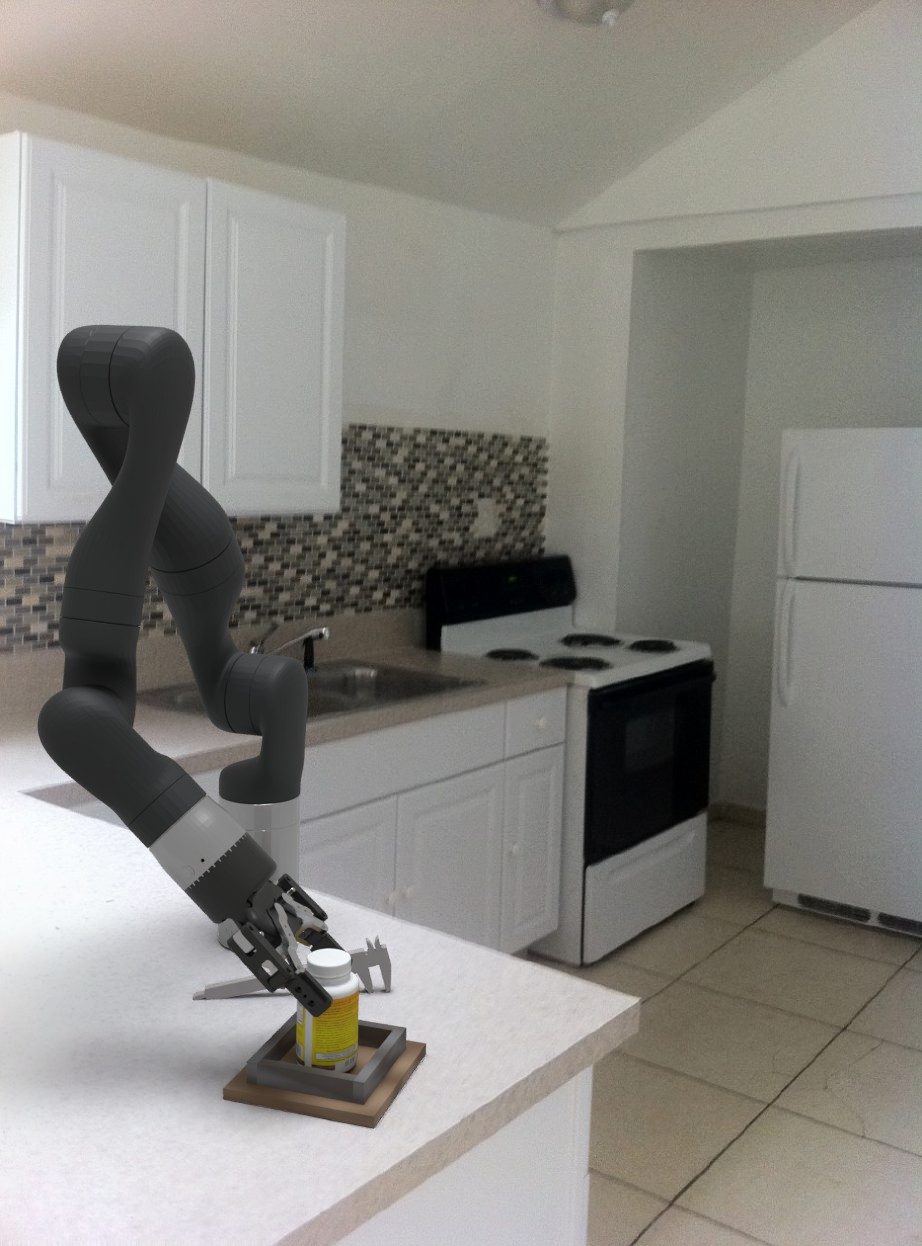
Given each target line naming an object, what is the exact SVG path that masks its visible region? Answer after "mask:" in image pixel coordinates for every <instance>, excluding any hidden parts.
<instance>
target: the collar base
mask: <svg viewBox="0 0 922 1246" xmlns="http://www.w3.org/2000/svg"><path fill="white" fill-rule="evenodd" d="M296 1033H297V1010H296V1011H295V1012H294V1013H293V1014H292V1015H291V1016H290V1017H289V1018H288V1019H287V1020H286V1021H285V1022H284V1023H283V1024H282V1025H281V1026H280V1027H279V1028H278V1029H277V1030H276V1031H275V1032H274V1033H273V1034H272V1035H271V1036H270V1037H269V1038H268V1039H267V1040H266V1041H265V1042H264V1043H263V1044H262V1046H261V1047H259V1049H258V1050H257V1051H256V1052H254V1053H253V1054H252V1055H251V1056H250V1057H249V1058H248V1059H247V1061H246V1064H245V1065H244V1066H243V1068H241V1069H240V1070H239V1071H238V1072H237V1074H235V1075H234V1076H233V1077H232V1078H231V1080H229V1081H228V1083H226V1085H224V1086H223V1088H222V1099H223V1100H227V1101H232V1102H237V1103H242V1104H247V1105H253V1106H257V1107H264V1108H268V1109H273V1110H278V1111H284V1112H289V1113H294V1114H299V1115H306V1116H310V1117H316V1118H320V1119H326V1120H331V1121H335V1122H341V1123H347V1124H352V1125H357V1126H363V1127H368V1128H372V1129H373V1128H375V1127H376V1125H377V1124H378V1123H379V1121H380V1119H382V1117H383V1116H384V1114H385V1113H386V1111H388V1108H389V1107H390V1105H391V1104H392V1103H393V1101H394V1100H395V1098H396V1097H397V1095H398V1094H399V1093H400V1091H401V1090H402V1088H403V1087H404V1085H406V1083H407V1082H408V1080H409V1078H410V1077H411V1075H412V1074H413V1072H414V1071H415V1070H416V1069H417V1067H418V1066H419V1065H420V1062H421V1061H422V1060H423V1058H424V1057H425V1055H426V1054H427V1043H425V1042H421V1041H414V1040H409V1039H408V1040H407V1027H405V1026H399V1025H394V1024H393V1025H392V1024H387V1023H382V1022H374V1021H368V1020H362V1019H358V1054H357V1061H356V1063H355V1065H354V1066H353V1067H352V1068H351V1069H350V1070H349V1071H347V1072H345V1073H341V1072H336V1071H330V1070H325V1069H319V1068H313V1067H308V1066H302V1065H298V1064H297V1060H296Z"/></svg>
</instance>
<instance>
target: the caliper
mask: <svg viewBox="0 0 922 1246" xmlns="http://www.w3.org/2000/svg"><path fill="white" fill-rule="evenodd" d="M365 942H366V946H367V951H365V949H364V947H361V948H355V949H351V950H345V951H346V952H347V953H348V954H349V955H350V956H351V958H352V959H353V963H352V965H351V972H352V973H354V974H355V975H357V977H359V978H358V979H360V981H361V982H362V984H363V986H364V988H365V989H366V991H367V993H368V994H375V992H374V985H373V980H372V977H371V972H370V968H371V967H376V966H378V967H379V970H380V975H381V977H382V980H383V984H384V989H385V993H389V992H390V991H391V990H392V989H391V987H392V962H391V957H390V955H389V950H388V947H387V945H386V943H384V944H383V943H382V944H380V943H381V942H380V938H379V935H378V934H377V935H376V936H375V940H374V945H373V942H372V941H371V940H370V939H369V938H368V937H365ZM302 965H303V967H304V971H305V970H306V967H307V963H305V964H302ZM266 972H267V973H268V974H269V975H270V976H272V974H271V972H270V971H266ZM264 990H266V991H267V989H266V988H265V987H264V986H263V985H262V983H261V982H260V981H259V980H258V979H257V978H256V977H255V976H254V974H252V975H247V976H242V977H239V978H234V979H229V980H223V981H219V982H215V983H210V984H205V986H204V989H203V990H198V991H196V992H195V993H193V994H192V995H193V996H192V1000H194V1001H198V1000H202V999H206V1001H207V1000H211V999H212V1000H223V999H228V998H233V997H236V996H237V997H238V996H242V995H243V996H244V995H246V994H251V993H255V992H260V991H264ZM212 1000H211V1001H212Z"/></svg>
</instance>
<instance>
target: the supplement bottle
mask: <svg viewBox="0 0 922 1246" xmlns="http://www.w3.org/2000/svg"><path fill="white" fill-rule="evenodd" d="M345 951H346V950H345ZM345 951H342V950H339V949H320V950H316V951H313V952H311V951H310V953H309V954H308V955H307V957H306V964H307V967H306V970H307V971H308V972H309V973H310V974H311V975H312V976H313V977H314V978H315V979H316V980H317V981H318V983H319V984H320V985H321V986H322V987H323V988H324V989H325V990H326V991H327V992H328V993H329V994H330V995H331V996H332V998H333V1002H332V1004H331V1006H330V1008H328V1009H327V1010H326V1011H325V1012H324V1013H323V1014H321V1015H320V1016H319V1017H313V1016H312V1015H311V1014H310V1013H309V1012H308V1011H307V1010H306V1009H305V1008H304V1006H303V1005H302V1004H301V1003H300V1002H299V1001H298V1000H297V999H296V1011H297V1033H296V1060H297V1064H298V1065H302V1066H308V1067H313V1068H319V1069H325V1070H330V1071H336V1072H341V1073H345V1072H347V1071H349V1070H350V1069H351V1068H352V1067H353V1066H354V1065H355V1063H356V1061H357V1054H358V1020H359V1009H360V1008H359V1005H360V1004H359V1003H360V1002H359V1001H360V1000H359V999H360V980H359V978H358V975H357V974H354V973H352V972H351V956H350V955H349V954H348V953H347V952H345Z"/></svg>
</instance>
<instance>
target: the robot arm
mask: <svg viewBox="0 0 922 1246" xmlns="http://www.w3.org/2000/svg"><path fill="white" fill-rule="evenodd" d="M195 367H196V366H195V360H194V357H193V353H192V350H191V348H190V346H189V344H188V342H187V341H186V340H185V338H183V336H182V335H181V334H180V333H179V332H177V331H175V330H174V329H172V328H171V329H170V328H168V327H164V326H154V325H153V326H152V325H151V326H150V325H149V326H148V325H124V324H123V325H119V324H118V325H117V324H91V325H88V324H87V325H83V326H79V327H76V328H73V329H72V330H71V331H69V332H68V333H67V334H66V335H65V336H64V337H63V338H62V339H61V342H60V345H59V348H58V349H57V355H56V376H57V378H56V379H57V381H58V387H59V390H60V393H61V396H62V399H63V402H64V404H65V407H66V409H67V411H68V414H69V415H70V417H71V418H72V421H73V422H74V424H75V425H76V428H77V429H78V431H79V432H80V434H81V437H82V438H83V440H84V441H85V442H86V444H87V446H88V448H89V450H90V451H91V452H92V454H93V456H94V458H95V459H96V460H97V462H98V464H99V466H100V467H101V470H102V471H103V472H104V474H105V476H106V478H107V480H108V481H109V484H110V485H111V488H110V490H109V492H108V493H107V495H106V497H105V498H104V500H103V501H102V502H101V504H100V505H99V507H98V509H97V510H96V511H95V512H94V514H93V515H92V517H91V518H90V520H89V521H88V522H87V524H86V526H85V528H84V529H83V530H82V532H81V534H80V535H79V537H78V539H77V541H76V542H75V544H74V547H73V549H72V551H71V553H70V556H69V560H68V563H67V566H66V569H65V570H66V571H65V575H64V583H63V591H62V599H61V605H60V614H59V616H60V617H59V620H58V621H59V622H58V642H59V646H60V648H61V649H62V651H63V652H64V653H63V654H64V665H63V676H62V688H61V690H59V691H58V692H56V693H55V694H54V695H52V696H50V697H49V698H48V699H47V701H46V702H45V703H44V704H43V705H42V707H41V709H40V711H39V714H38V719H37V734H38V738H39V741H40V743H41V746H42V747H43V749H44V751H45V752H46V754H47V755H48V756H49V757H50V759H51V760H52V761H53V762H54V764H56V765H57V767H59V768H60V769H61V770H62V772H64V773H65V774H66V775H67V776H68V777H70V778H71V779H72V780H73V781H74V782H76V783H77V784H78V785H79V786H81V787H82V788H83V789H84V790H86V791H87V792H88V793H89V794H90V795H92V796H93V797H95V798H96V799H97V800H98V801H100V802H102V803H103V804H104V805H106V806H107V807H108V808H110V810H112V812H114V813H115V814H116V816H117V817H118V818H119V819H120V820H121V822H122V823H123V824H124V825H125V826H126V827H127V828H128V830H129V832H131V833H132V834H133V835H134V836H135V837H136V838H137V839H138V840H139V841H140V843H142V845H143V846H144V847H146V848H147V849H148V851H149V852H150V853H151V854H152V855H153V857H154V858H155V860H156V861H157V863H158V864H159V866H160V867H161V868H162V870H163V871H164V872H165V873H166V874H167V875H168V876H169V877H170V878H171V879H172V881H174V883H176V885H177V886H178V887H179V888H180V889H181V890H182V891H183V892H184V894H186V895H187V896H188V898H190V900H192V901H193V902H194V904H195V905H196V906H197V907H198V908H199V909H200V911H202V912H203V914H204V915H206V917H207V918H208V919H209V920H210V922H212V923H213V924H215V925H217V926H218V927H217V928H218V929H217V930H218V931H217V933H218V934H217V935H218V936H217V938H218V942H219V943H220V945H222V946H224V947H225V948H227V949H230V950H231V951H232V952H233V954H234V955H236V957H237V958H238V959H239V960H240V961H241V962H242V963H243V965H244V966H245V967H246V968H247V969H248V970H249V971H250V973H252V975H254V976H255V977H256V978H257V979H258V980H259V981H260V982H261V983H262V985H263V986H264V987H265V988H266V991H268V992H269V993H271V994H274V993H276V991H277V990H285V989H286V990H287V991H288V992H289V993H291V995H292V996H293V997H294V999H296V1001H297V1000H298V1001H299V1002H300V1003H301V1004H302V1005H303V1006H304V1008H305V1009H306V1010H307V1011H308V1012H309V1013H310V1014H311V1015H312V1016H313V1017H319V1016H320V1015H321V1014H323V1013H324V1012H325V1011H326V1010H327V1009H328V1008H330V1006H331V1004H332V1002H333V998H332V996H331V995H330V994H329V993H328V992H327V991H326V990H325V989H324V988H323V987H322V986H321V985H320V984H319V983H318V981H317V980H316V979H315V978H314V977H313V976H312V975H311V974H310V973H309V972H308V971H307V970H305V971H304V967H303V965H304V964H303V963H302V961H301V959H300V958H299V955H298V954H297V950H298V947H299V944H301V945H303V946H306V947H307V948H310V947H311V948H310V949H309V951H310V953H311V952H313V951H316V950H320V949H339V950H342V951H345V952H346V951H347V950H345V949H344V948H343V947H342V946H341V945H340V944H339V943H338V941H336V939H335V938H334V937H333V936H332V935H331V934H330V933H329V932H328V931H329V927H328V925H327V924H326V923H325V922H326V921H327V920H328V918H329V916H328V914H327V913H326V911H325V910H324V909H323V908H322V907H321V906H320V905H319V904H318V903H317V902H316V901H315V900H314V899H312V897H311V895H309V894H308V893H307V892H306V891H305V890H304V889H303V888H302V887H301V886H300V876H301V875H300V874H301V873H300V870H301V869H300V868H301V867H300V865H301V864H300V862H301V796H302V795H301V790H302V789H301V785H302V776H303V771H304V765H305V754H306V753H305V750H306V734H307V733H306V732H307V719H308V718H307V717H308V707H309V706H308V705H309V684H308V676H307V672H306V670H305V667H304V666H303V663H301V661H299V660H298V659H296V657H291V656H285V655H278V654H277V655H275V654H273V655H272V654H265V653H264V654H263V653H253V652H244V651H242V650H241V649H239V647H238V646H237V645H236V643H235V641H234V639H233V637H232V634H231V630H230V626H229V622H230V619H231V616H232V614H233V612H234V609H235V607H236V605H237V603H238V601H239V598H240V596H241V593H242V590H243V589H244V588H243V587H244V584H245V578H246V564H245V558H244V555H243V552H242V549H241V547H240V545H239V542H238V538H237V536H236V533H235V530H234V529H233V526H232V524H231V522H230V518H229V517H228V514H227V513H226V512H225V509H224V508H223V506H222V505H221V503H219V501H218V500H217V499H216V498H215V497H214V496H213V495H212V494H211V493H210V491H208V490H207V489H206V488H205V487H204V486H203V485H202V484H201V483H200V482H199V481H198V480H196V479H195V477H194V476H192V474H190V473H189V472H188V471H187V470H186V469H185V468H183V467H182V466H181V465H180V464H179V463H178V458H179V454H180V451H181V449H182V444H183V440H184V438H185V433H186V430H187V427H188V423H189V420H190V416H191V412H192V408H193V407H192V406H193V403H194V395H195V391H196V390H195V386H196V368H195ZM149 570H150V572H151V575H152V578H153V579H154V581H155V584H156V586H157V587H158V588H157V589H158V590H159V591H160V594H161V595H162V597H163V599H164V602H165V604H166V606H167V608H168V610H169V612H170V615H171V617H172V620H173V622H174V625H175V627H176V629H177V632H178V635H179V638H180V639H181V641H182V644H183V648H184V650H185V653H186V656H187V659H188V662H189V666H190V668H191V672H192V675H193V679H194V682H195V685H196V688H197V693H198V695H199V698H200V701H201V704H202V707H203V709H204V711H205V714H206V716H207V717H208V719H209V721H210V722H211V724H212V725H214V726H215V727H216V728H217V729H218V730H221V731H223V732H225V733H231V734H237V735H247V736H248V735H249V736H257V737H261V745H260V746H261V747H260V751H259V754H258V755H257V756H254V757H252V758H248V759H247V758H246V759H243V760H240V761H236V762H233V763H230V764H229V765H227V766H225V767H223V768H222V769H221V771H220V773H219V777H218V802H217V801H215V800H214V799H213V798H212V797H211V796H210V795H209V794H207V792H206V791H205V790H204V789H203V788H202V787H201V786H200V785H199V783H197V781H196V780H195V779H194V778H193V777H192V776H191V775H190V774H189V773H188V772H187V771H186V770H185V768H183V767H182V766H181V765H180V764H179V763H178V762H177V761H175V760H174V759H173V758H172V757H170V756H169V755H165V754H164V753H160V752H159V751H157V750H155V749H154V748H153V747H152V746H151V745H150V744H149V743H148V741H146V740H145V739H144V738H143V736H141V735H140V734H139V732H137V731H136V729H134V723H135V717H136V711H137V710H136V709H137V693H138V692H137V686H138V685H137V684H138V683H137V681H138V679H137V677H138V676H137V675H138V673H137V668H138V667H137V666H138V665H137V646H138V643H139V642H138V640H139V637H140V631H141V623H142V616H143V609H144V601H145V593H146V584H147V578H148V573H149V572H148V571H149ZM352 963H353V959H352V958H351V965H352ZM266 969H268V970H269V972H271V974H272V976H270V975H269V974H268V973H267V972H268V971H267V970H266Z"/></svg>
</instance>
